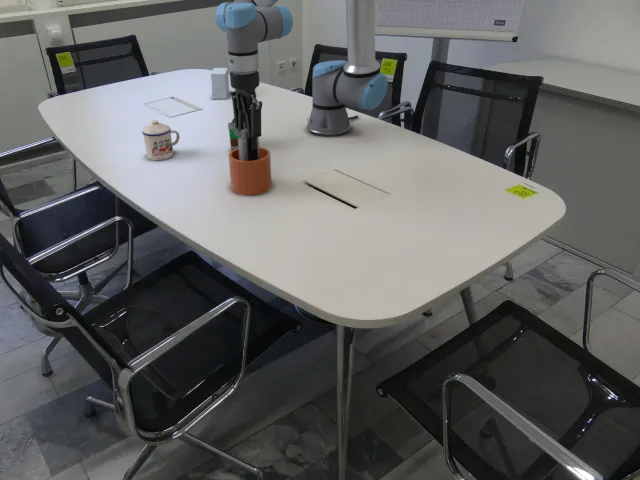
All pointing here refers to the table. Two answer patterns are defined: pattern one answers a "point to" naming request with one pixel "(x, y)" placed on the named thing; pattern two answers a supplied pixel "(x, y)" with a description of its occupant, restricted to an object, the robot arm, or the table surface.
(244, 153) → the power adapter
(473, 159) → the table surface
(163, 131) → the teacup with lid
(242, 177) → the orange flower pot
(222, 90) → the cosmetics box
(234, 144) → the food container
